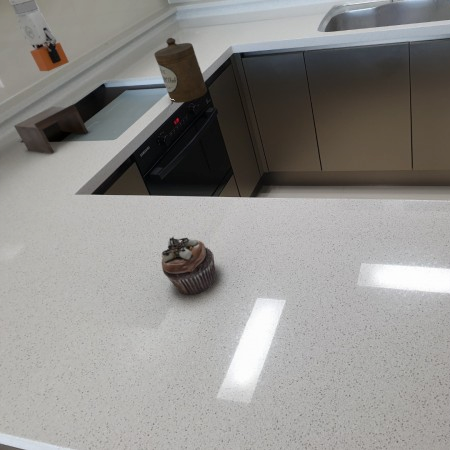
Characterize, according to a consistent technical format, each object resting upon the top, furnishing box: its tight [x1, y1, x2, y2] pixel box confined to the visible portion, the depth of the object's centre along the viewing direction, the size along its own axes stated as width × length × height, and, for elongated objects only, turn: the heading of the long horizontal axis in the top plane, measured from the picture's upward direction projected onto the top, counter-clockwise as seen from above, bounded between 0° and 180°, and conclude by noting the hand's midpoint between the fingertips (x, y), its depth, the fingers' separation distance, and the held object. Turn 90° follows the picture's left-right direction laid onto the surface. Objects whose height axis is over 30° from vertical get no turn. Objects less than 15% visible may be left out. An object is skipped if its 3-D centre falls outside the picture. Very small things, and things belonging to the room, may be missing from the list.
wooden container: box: [153, 37, 208, 104], centre depth 176 cm, size 15×15×22 cm
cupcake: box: [161, 236, 217, 296], centre depth 86 cm, size 10×10×10 cm
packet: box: [29, 42, 70, 72], centre depth 164 cm, size 5×9×7 cm, turn 151°
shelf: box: [13, 103, 89, 154], centre depth 164 cm, size 14×16×11 cm
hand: (52, 61), depth 165 cm, fingers closed on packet, 5 cm apart
